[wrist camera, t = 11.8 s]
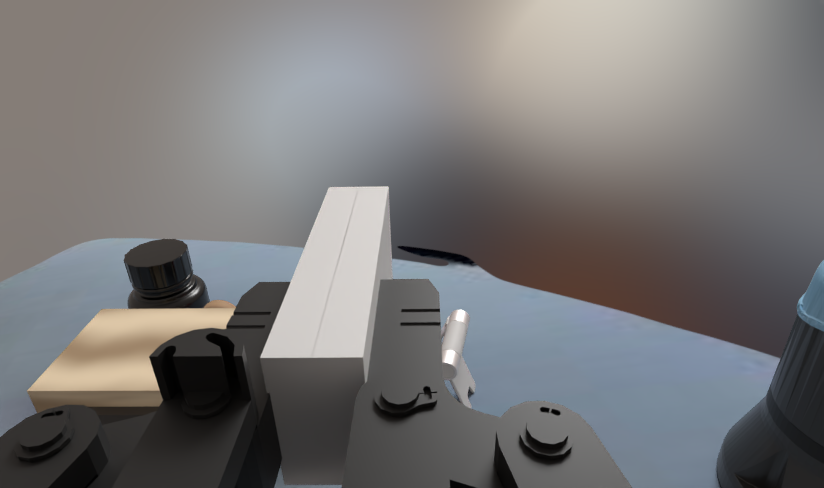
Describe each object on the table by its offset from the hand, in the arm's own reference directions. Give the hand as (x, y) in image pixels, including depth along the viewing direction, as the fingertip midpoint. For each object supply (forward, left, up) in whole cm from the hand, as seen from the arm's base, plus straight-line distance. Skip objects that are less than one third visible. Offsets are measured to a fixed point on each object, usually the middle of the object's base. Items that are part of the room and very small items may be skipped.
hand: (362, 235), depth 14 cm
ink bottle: (-21, -46, -35) cm, 62 cm away
